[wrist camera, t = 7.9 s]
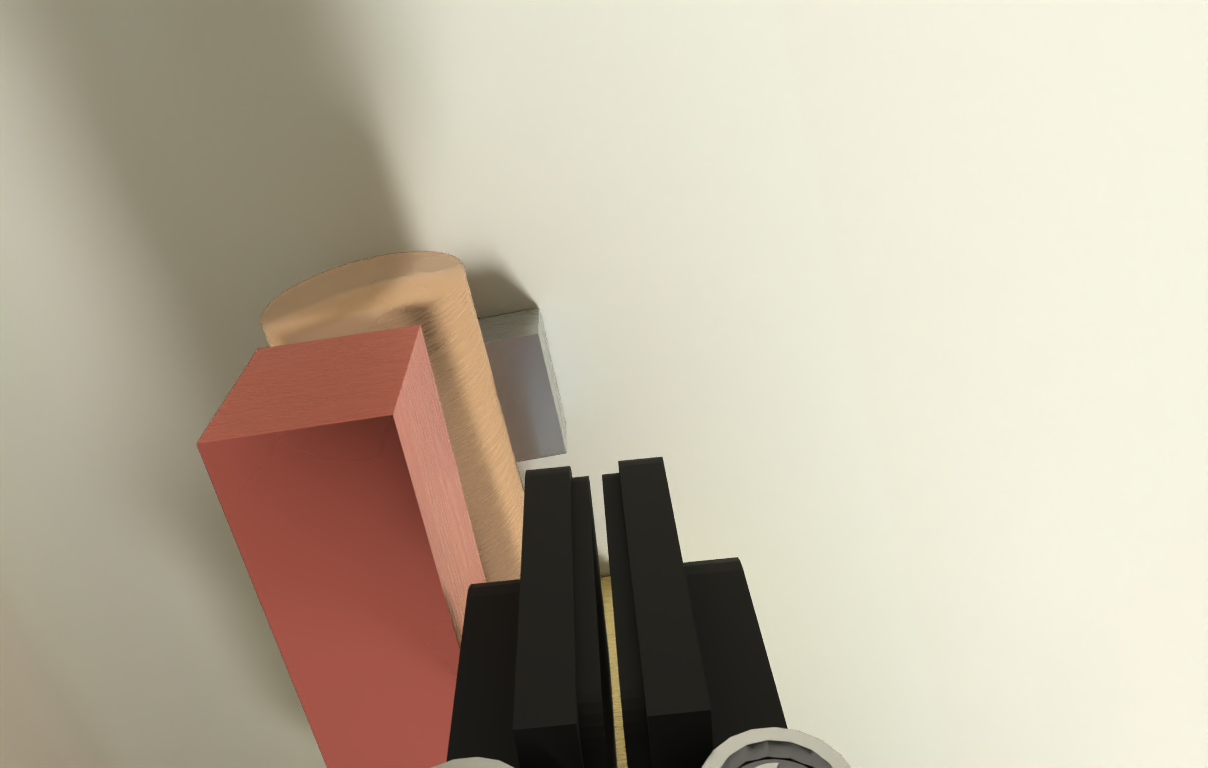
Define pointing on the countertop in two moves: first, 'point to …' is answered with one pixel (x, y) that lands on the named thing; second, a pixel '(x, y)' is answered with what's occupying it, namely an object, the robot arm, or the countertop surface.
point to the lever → (352, 536)
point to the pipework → (457, 388)
